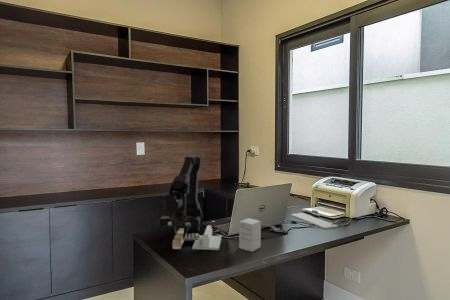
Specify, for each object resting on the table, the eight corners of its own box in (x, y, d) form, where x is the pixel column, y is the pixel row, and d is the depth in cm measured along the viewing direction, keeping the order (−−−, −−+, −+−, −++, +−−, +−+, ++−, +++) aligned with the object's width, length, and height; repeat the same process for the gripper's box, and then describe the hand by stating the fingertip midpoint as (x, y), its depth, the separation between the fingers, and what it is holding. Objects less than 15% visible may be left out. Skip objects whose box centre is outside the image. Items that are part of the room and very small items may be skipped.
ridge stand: (197, 237, 158) (197, 224, 157) (221, 238, 157) (221, 225, 157) (192, 249, 142) (192, 234, 142) (218, 249, 141) (219, 235, 141)
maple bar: (179, 235, 157) (179, 228, 157) (186, 235, 157) (186, 228, 157) (172, 248, 139) (172, 241, 139) (180, 248, 139) (180, 241, 139)
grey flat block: (305, 214, 207) (290, 216, 202) (305, 210, 206) (290, 212, 201) (341, 227, 179) (325, 230, 174) (341, 222, 179) (325, 225, 173)
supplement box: (247, 243, 150) (248, 217, 149) (261, 247, 145) (261, 220, 144) (238, 248, 144) (239, 221, 143) (251, 252, 139) (252, 224, 138)
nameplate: (293, 231, 166) (279, 233, 161) (293, 233, 166) (278, 236, 161) (262, 218, 190) (248, 220, 185) (262, 220, 190) (248, 223, 185)
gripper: (155, 210, 140) (155, 244, 141) (197, 211, 139) (196, 245, 140) (162, 204, 151) (162, 236, 152) (200, 205, 150) (200, 237, 151)
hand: (179, 238), depth 148 cm, fingers closed on maple bar, 4 cm apart
